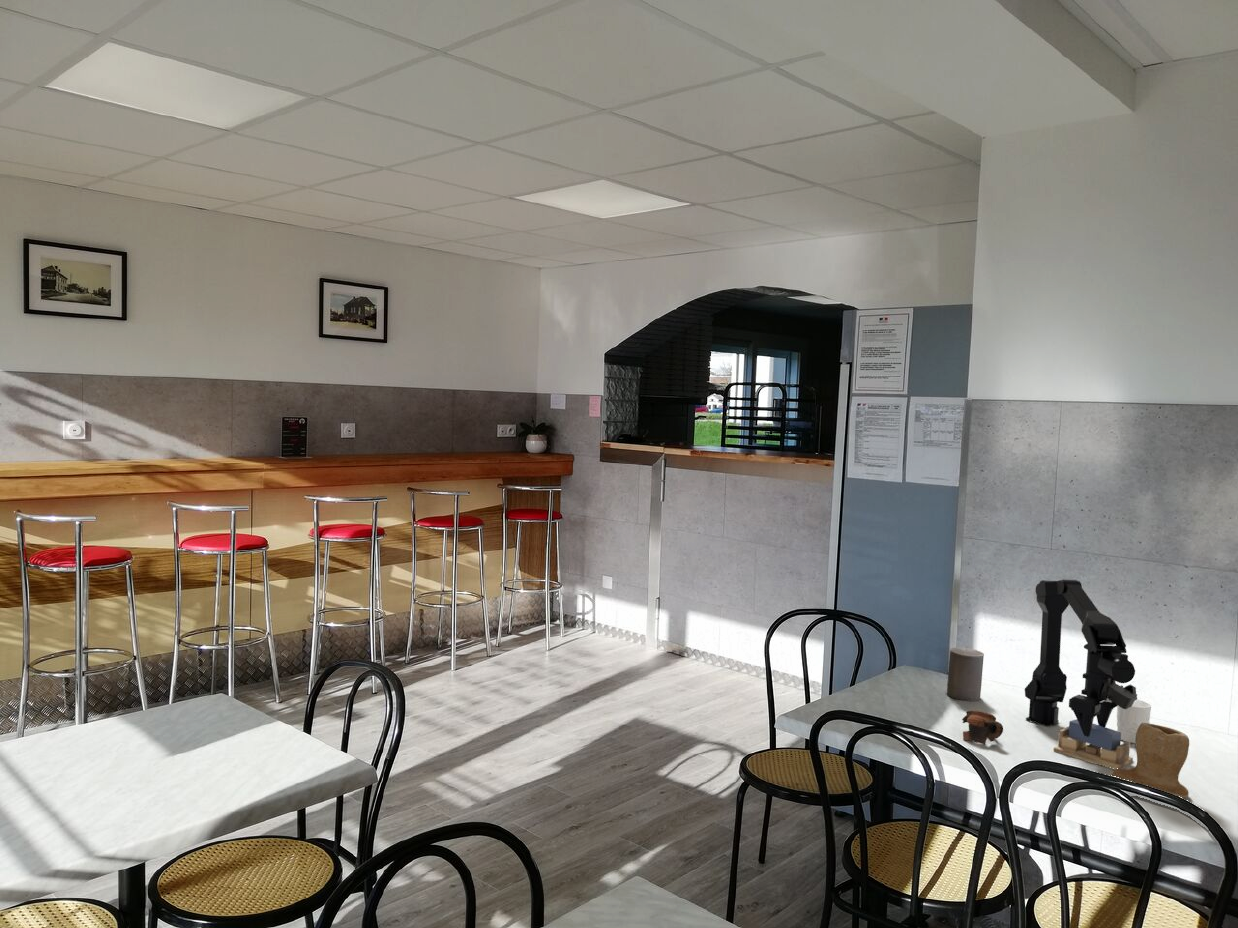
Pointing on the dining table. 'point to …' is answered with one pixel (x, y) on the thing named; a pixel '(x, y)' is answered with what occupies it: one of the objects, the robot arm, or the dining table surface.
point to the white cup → (1132, 719)
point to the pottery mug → (981, 727)
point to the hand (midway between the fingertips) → (1094, 732)
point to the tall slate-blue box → (1096, 735)
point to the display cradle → (1093, 751)
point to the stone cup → (1158, 759)
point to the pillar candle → (965, 674)
